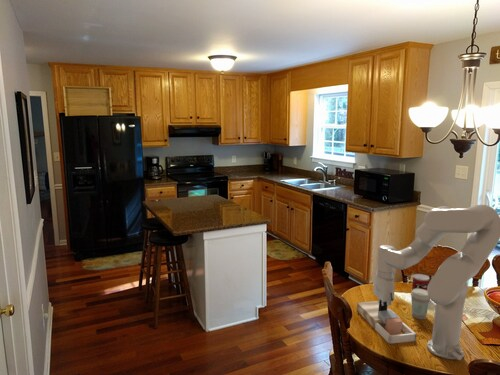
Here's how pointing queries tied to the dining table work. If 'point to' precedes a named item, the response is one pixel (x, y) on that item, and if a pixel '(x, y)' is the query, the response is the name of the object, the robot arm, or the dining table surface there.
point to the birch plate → (371, 312)
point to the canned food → (420, 281)
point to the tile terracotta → (393, 326)
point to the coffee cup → (419, 303)
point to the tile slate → (386, 315)
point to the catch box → (398, 338)
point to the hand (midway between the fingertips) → (382, 312)
